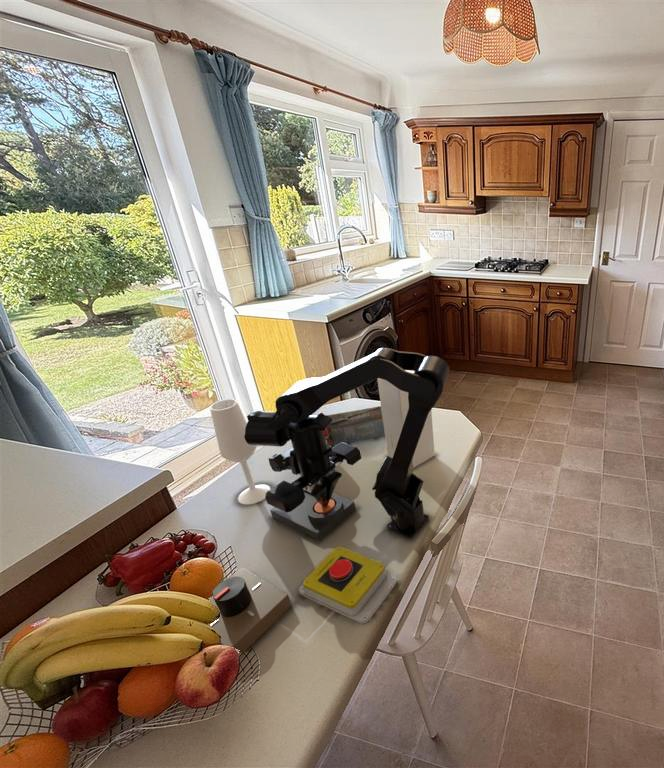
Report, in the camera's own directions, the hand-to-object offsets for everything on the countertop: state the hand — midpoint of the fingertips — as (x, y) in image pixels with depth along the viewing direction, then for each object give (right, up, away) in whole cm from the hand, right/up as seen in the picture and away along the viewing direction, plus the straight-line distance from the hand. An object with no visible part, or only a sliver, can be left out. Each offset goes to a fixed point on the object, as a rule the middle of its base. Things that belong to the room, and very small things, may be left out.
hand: (324, 505), depth 85 cm
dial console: (-6, -13, -17) cm, 23 cm away
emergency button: (+10, -11, -12) cm, 19 cm away
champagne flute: (-20, 0, +8) cm, 22 cm away
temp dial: (-6, -11, -19) cm, 22 cm away
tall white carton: (+13, +6, +22) cm, 26 cm away
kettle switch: (0, -2, +1) cm, 2 cm away
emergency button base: (-4, -3, +3) cm, 6 cm away
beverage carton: (-5, +11, +30) cm, 33 cm away
